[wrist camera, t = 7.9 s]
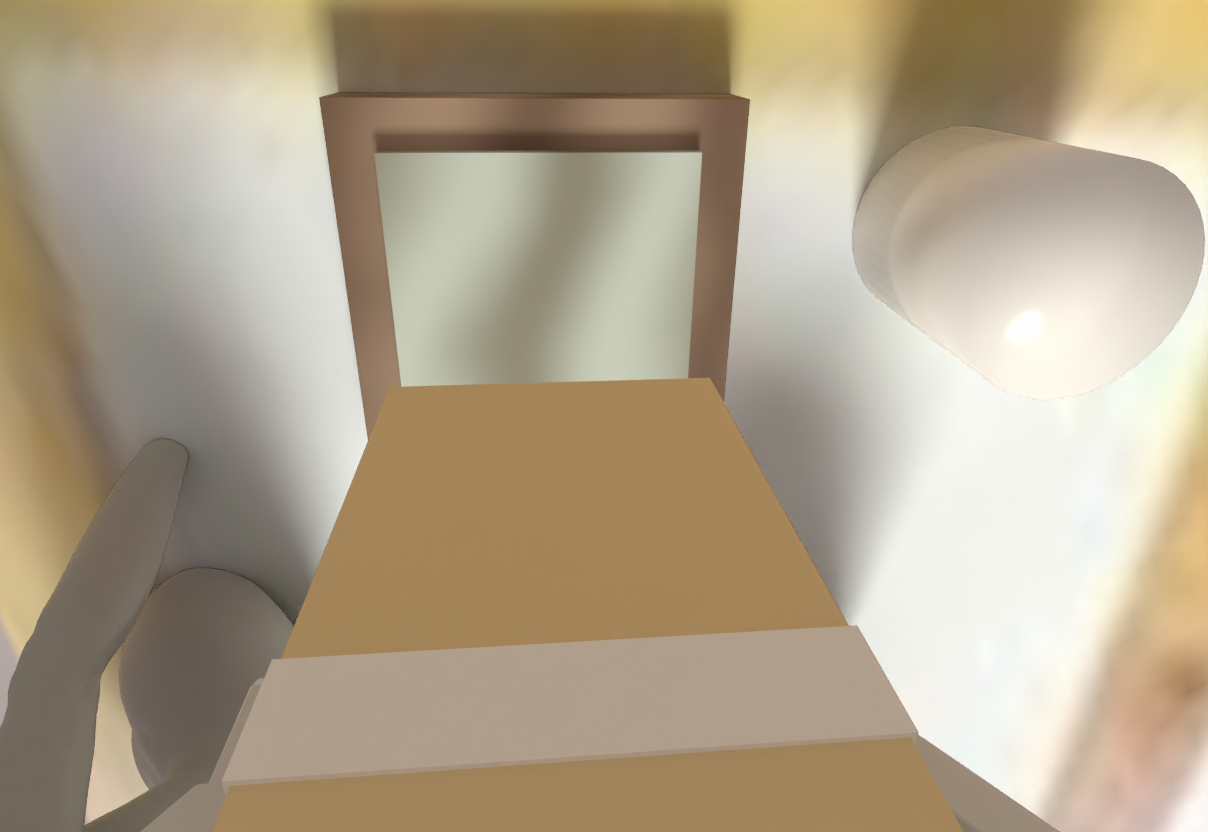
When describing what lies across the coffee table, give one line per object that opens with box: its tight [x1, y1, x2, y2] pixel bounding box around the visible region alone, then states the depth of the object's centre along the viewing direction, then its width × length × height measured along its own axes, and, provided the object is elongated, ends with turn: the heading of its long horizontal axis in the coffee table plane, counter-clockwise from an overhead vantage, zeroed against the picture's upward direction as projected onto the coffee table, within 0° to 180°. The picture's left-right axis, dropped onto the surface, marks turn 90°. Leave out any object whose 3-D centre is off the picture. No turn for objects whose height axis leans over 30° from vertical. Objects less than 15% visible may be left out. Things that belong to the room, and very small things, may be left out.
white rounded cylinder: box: [852, 126, 1205, 400], centre depth 25 cm, size 7×7×8 cm
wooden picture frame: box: [319, 92, 750, 440], centre depth 27 cm, size 13×13×3 cm
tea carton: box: [212, 378, 964, 832], centre depth 10 cm, size 5×7×8 cm
